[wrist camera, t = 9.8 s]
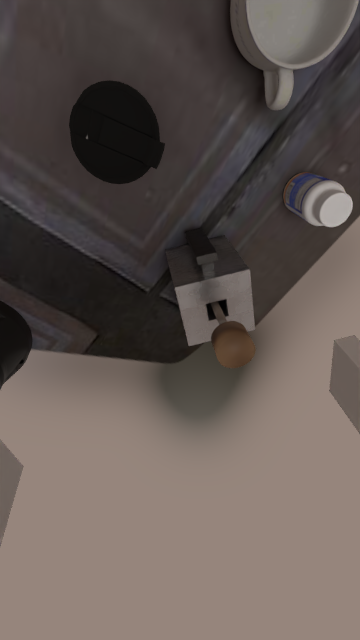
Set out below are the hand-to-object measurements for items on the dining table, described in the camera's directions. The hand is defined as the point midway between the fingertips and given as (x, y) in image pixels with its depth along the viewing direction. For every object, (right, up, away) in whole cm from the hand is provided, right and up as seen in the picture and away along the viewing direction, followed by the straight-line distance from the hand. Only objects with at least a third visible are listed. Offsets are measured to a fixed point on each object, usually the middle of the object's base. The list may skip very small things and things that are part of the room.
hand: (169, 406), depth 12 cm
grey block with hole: (+3, +12, +37) cm, 39 cm away
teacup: (+10, +35, +23) cm, 43 cm away
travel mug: (-7, +27, +26) cm, 38 cm away
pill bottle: (+17, +21, +33) cm, 43 cm away
